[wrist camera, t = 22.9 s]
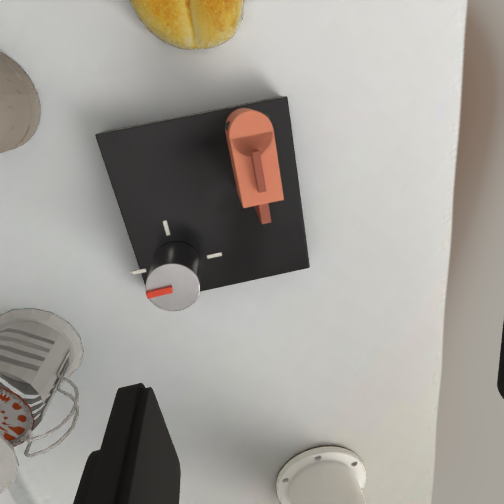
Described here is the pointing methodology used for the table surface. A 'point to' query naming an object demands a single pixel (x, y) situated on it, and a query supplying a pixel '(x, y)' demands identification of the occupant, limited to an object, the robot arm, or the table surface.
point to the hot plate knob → (174, 277)
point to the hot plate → (205, 195)
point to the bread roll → (191, 20)
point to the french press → (32, 378)
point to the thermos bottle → (16, 105)
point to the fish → (254, 160)
